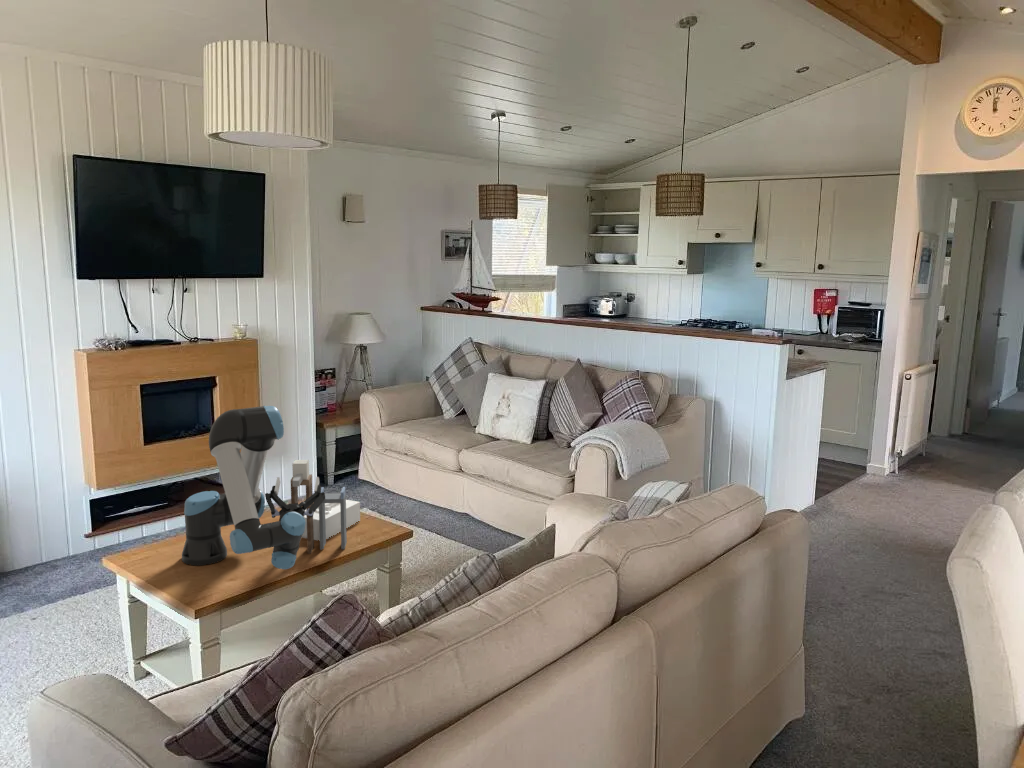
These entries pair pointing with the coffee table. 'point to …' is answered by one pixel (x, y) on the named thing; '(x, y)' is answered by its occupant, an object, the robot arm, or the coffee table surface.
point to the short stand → (342, 500)
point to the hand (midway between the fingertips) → (298, 479)
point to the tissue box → (334, 518)
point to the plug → (300, 471)
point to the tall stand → (309, 519)
